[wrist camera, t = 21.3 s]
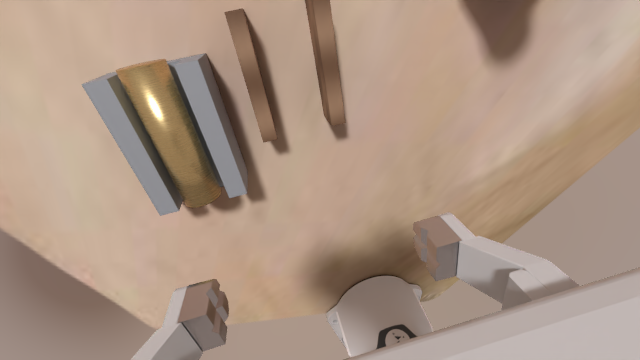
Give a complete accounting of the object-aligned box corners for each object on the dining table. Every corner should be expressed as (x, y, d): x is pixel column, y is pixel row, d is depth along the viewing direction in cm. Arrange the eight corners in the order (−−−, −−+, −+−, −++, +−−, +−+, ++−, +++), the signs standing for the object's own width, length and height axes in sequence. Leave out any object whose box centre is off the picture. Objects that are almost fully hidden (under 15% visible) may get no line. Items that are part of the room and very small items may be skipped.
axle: (223, 183, 33) (218, 202, 30) (189, 190, 33) (180, 211, 30) (171, 56, 26) (156, 63, 23) (127, 65, 26) (106, 73, 23)
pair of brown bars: (336, 112, 34) (345, 123, 31) (262, 129, 33) (263, 142, 30) (319, -6, 28) (328, -9, 24) (228, 12, 27) (224, 12, 24)
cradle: (247, 172, 36) (247, 193, 31) (171, 191, 35) (160, 215, 31) (205, 53, 28) (197, 60, 24) (107, 73, 28) (81, 84, 23)
